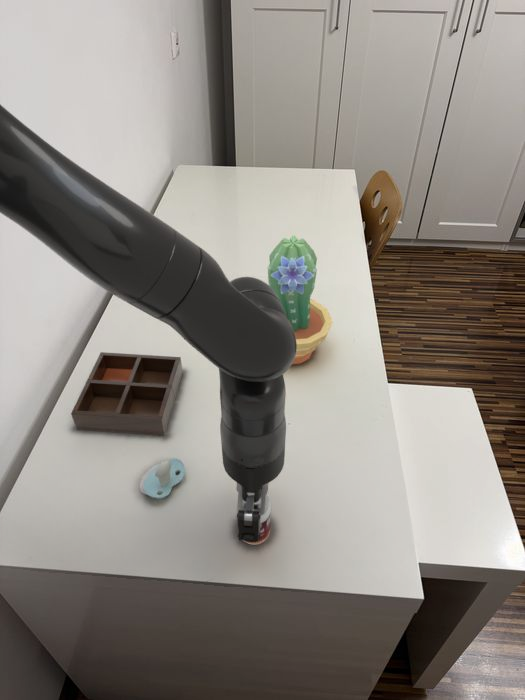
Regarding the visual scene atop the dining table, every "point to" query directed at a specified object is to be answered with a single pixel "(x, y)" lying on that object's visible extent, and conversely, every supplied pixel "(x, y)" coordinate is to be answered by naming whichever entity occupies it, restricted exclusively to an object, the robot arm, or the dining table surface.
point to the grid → (129, 394)
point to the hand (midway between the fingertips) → (254, 511)
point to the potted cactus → (299, 294)
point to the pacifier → (162, 478)
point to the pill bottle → (263, 521)
